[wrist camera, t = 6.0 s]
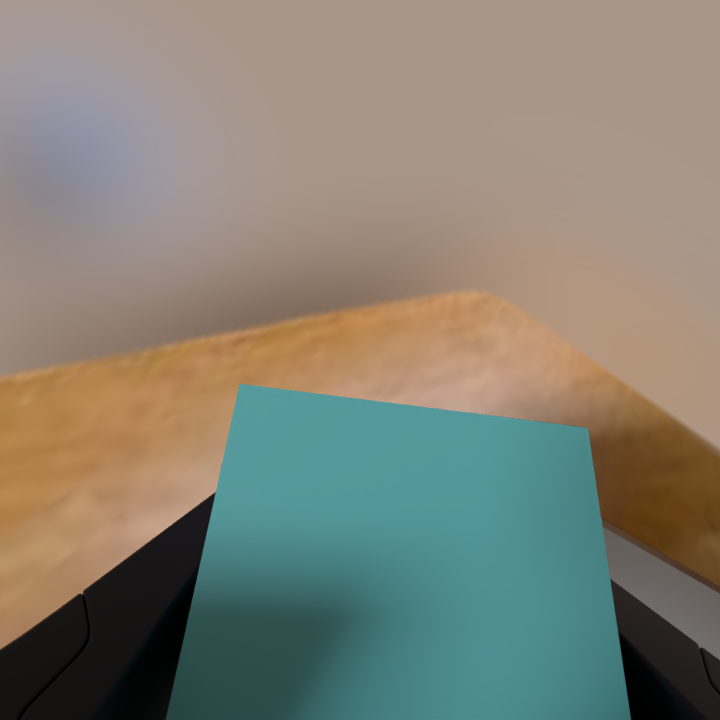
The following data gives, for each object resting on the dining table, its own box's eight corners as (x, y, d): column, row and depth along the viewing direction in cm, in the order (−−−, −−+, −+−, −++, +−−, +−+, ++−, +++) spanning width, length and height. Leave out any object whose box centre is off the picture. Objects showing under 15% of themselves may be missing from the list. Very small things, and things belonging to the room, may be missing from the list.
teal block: (413, 689, 13) (662, 930, 4) (242, 676, 13) (123, 913, 4) (417, 513, 15) (587, 427, 6) (272, 497, 15) (239, 384, 6)
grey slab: (752, 930, 16) (809, 975, 14) (505, 770, 17) (529, 793, 15) (775, 644, 20) (822, 652, 19) (576, 529, 22) (601, 526, 20)
